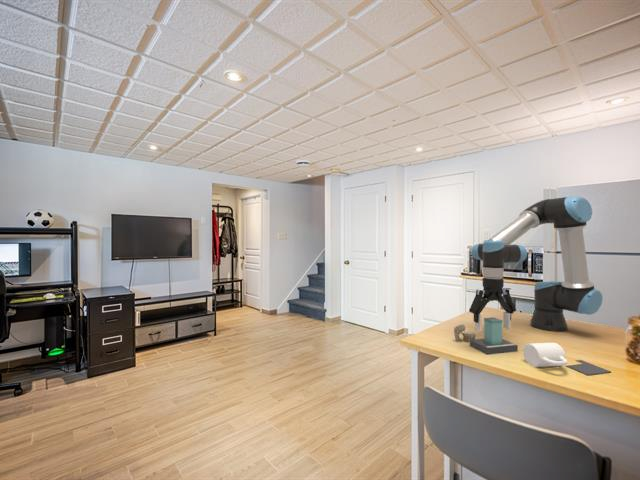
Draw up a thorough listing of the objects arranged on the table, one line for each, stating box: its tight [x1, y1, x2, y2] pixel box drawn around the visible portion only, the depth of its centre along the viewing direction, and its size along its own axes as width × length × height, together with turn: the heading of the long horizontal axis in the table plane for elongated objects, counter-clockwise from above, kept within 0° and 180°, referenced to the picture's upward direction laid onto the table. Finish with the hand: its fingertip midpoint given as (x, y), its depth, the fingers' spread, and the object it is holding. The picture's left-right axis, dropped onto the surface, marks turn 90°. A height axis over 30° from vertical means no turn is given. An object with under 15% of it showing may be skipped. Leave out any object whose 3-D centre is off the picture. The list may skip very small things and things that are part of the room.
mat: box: [565, 359, 612, 377], centre depth 108 cm, size 10×10×1 cm
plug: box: [483, 316, 503, 345], centre depth 126 cm, size 5×5×12 cm
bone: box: [453, 323, 476, 343], centre depth 135 cm, size 9×6×10 cm
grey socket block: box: [469, 338, 519, 355], centre depth 126 cm, size 14×10×3 cm
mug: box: [522, 342, 569, 368], centre depth 109 cm, size 12×10×8 cm
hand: (492, 329), depth 126 cm, fingers open, 13 cm apart
